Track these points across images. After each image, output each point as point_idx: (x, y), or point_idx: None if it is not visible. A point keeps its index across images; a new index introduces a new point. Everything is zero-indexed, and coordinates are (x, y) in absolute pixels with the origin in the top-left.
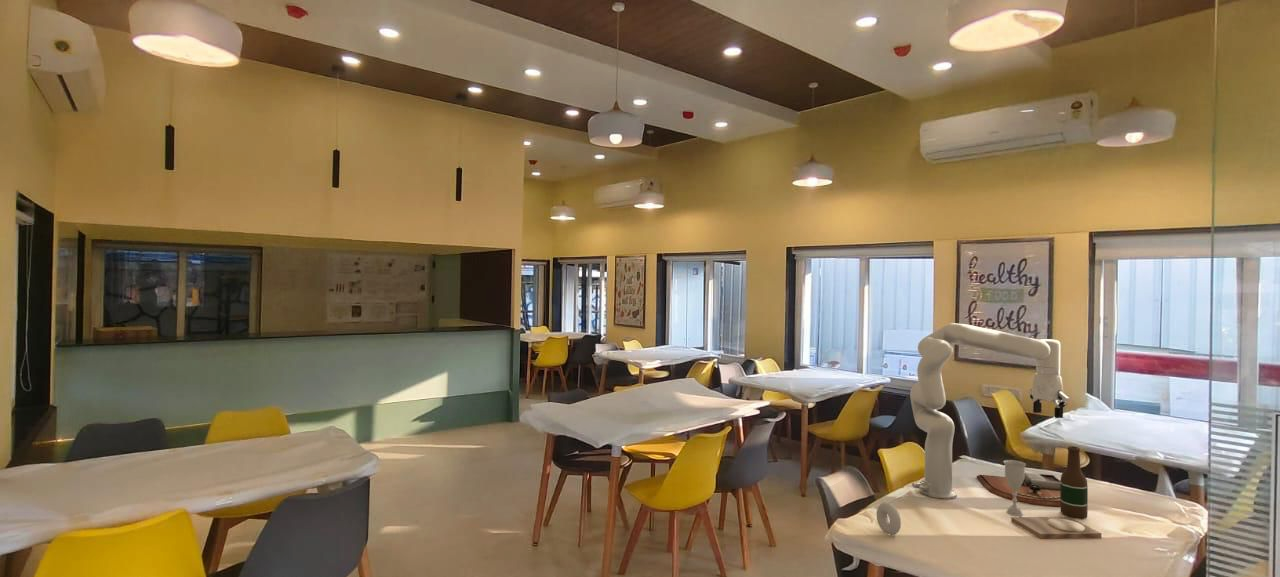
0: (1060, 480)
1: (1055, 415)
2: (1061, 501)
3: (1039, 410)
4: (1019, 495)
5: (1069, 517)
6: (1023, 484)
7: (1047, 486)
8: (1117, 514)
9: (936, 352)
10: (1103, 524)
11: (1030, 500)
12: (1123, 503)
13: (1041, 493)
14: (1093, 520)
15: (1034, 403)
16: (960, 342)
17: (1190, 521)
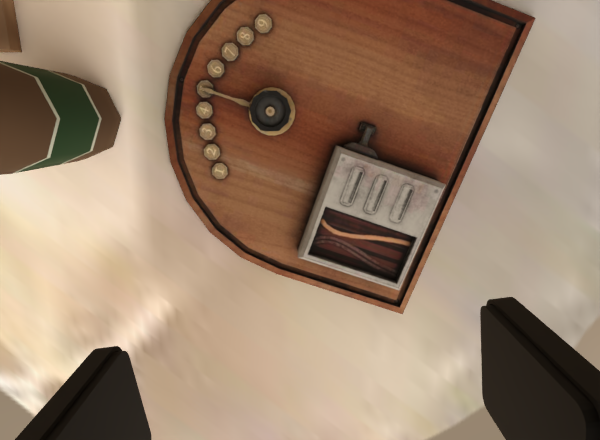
0: (29, 76)
1: (85, 365)
2: (69, 78)
3: (497, 395)
4: (240, 17)
5: (1, 48)
6: (363, 127)
7: (317, 198)
8: (108, 274)
9: None
10: None
11: (193, 32)
12: (211, 368)
13: (261, 131)
14: None
15: (592, 399)
16: None
17: None
